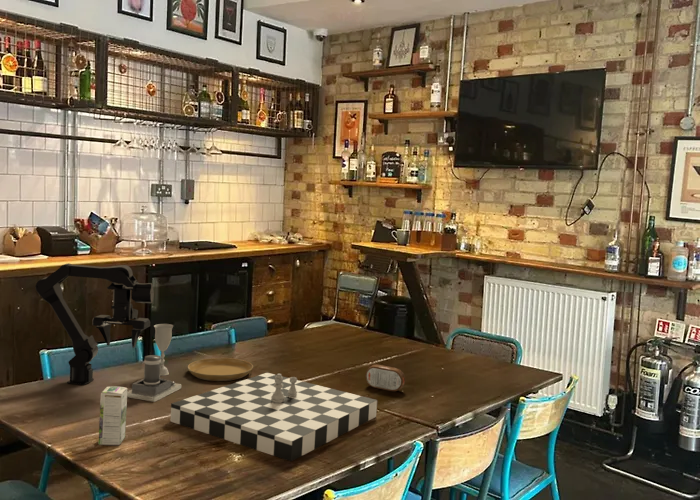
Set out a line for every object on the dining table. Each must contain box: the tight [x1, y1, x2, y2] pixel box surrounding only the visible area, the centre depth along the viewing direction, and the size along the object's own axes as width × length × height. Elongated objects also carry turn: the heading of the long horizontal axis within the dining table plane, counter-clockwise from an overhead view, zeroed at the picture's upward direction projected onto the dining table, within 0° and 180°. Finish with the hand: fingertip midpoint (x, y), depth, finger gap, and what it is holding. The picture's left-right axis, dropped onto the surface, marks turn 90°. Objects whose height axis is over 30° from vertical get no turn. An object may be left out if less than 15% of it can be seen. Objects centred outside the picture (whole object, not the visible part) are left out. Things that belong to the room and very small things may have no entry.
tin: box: [364, 363, 406, 392], centre depth 241 cm, size 15×3×8 cm, turn 65°
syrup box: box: [98, 385, 128, 446], centre depth 179 cm, size 6×6×14 cm
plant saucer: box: [187, 357, 254, 382], centre depth 249 cm, size 24×24×3 cm
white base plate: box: [127, 377, 182, 403], centre depth 222 cm, size 11×16×4 cm
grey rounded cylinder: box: [143, 354, 161, 386], centre depth 220 cm, size 5×5×11 cm
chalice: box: [153, 323, 174, 377], centre depth 244 cm, size 7×7×18 cm
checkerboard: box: [170, 372, 378, 462], centre depth 203 cm, size 45×45×15 cm
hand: (121, 346), depth 229 cm, fingers open, 9 cm apart
